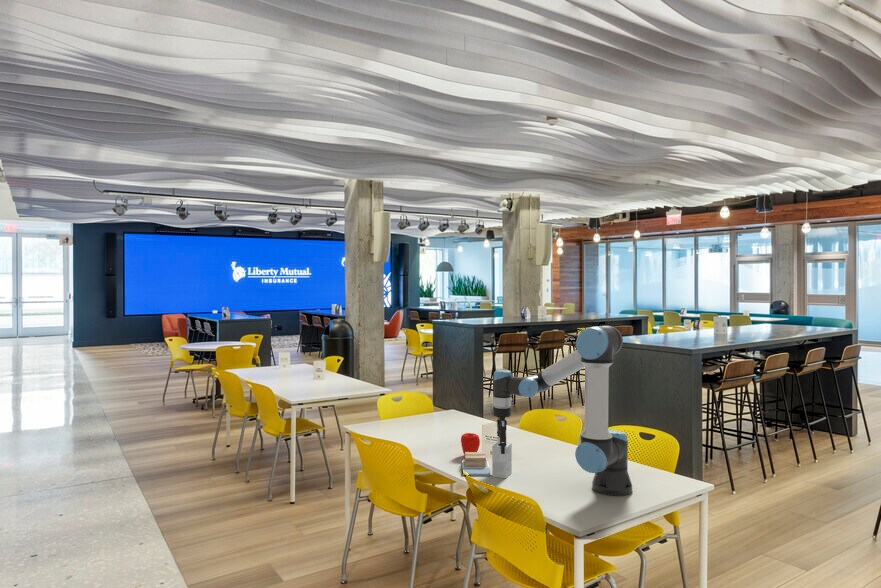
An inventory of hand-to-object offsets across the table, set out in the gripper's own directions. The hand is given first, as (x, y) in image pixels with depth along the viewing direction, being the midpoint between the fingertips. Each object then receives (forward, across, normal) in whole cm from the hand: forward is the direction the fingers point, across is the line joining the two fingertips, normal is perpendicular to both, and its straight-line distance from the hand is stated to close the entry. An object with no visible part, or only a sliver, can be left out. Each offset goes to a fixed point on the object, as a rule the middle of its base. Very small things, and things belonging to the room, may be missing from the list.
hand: (501, 456), depth 248 cm
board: (+8, +8, +11) cm, 15 cm away
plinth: (+7, +12, +11) cm, 17 cm away
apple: (+8, +28, +13) cm, 32 cm away
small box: (+8, 0, 0) cm, 8 cm away
